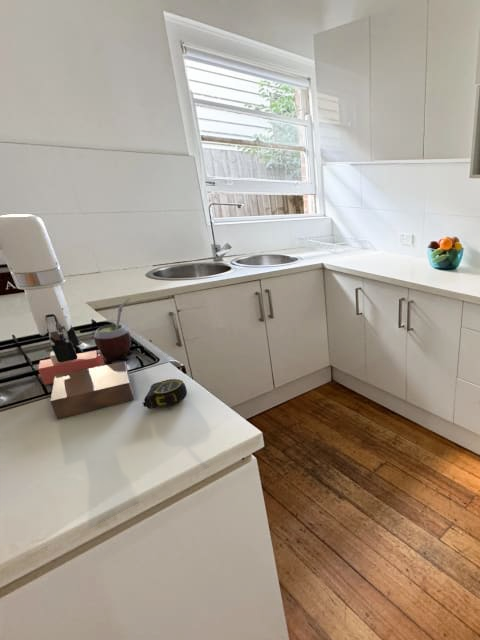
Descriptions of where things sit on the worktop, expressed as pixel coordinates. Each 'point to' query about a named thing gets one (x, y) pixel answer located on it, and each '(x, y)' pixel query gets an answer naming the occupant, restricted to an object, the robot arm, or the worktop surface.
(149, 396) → the tape measure
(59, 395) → the wood block
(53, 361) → the pink rectangular bar
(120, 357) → the mate gourd
